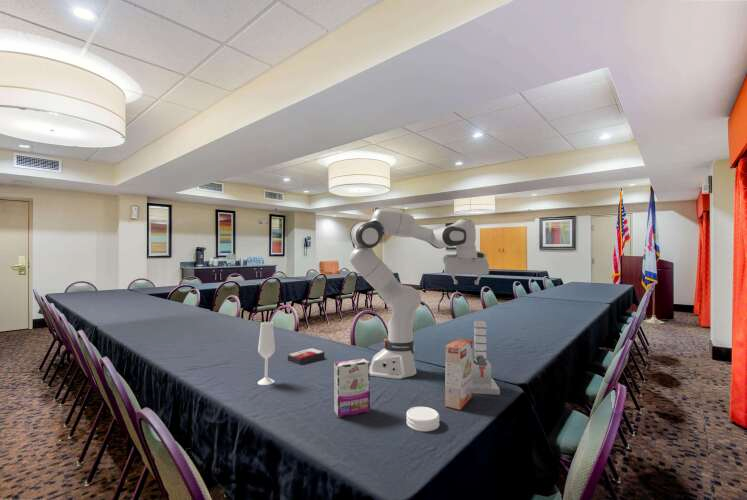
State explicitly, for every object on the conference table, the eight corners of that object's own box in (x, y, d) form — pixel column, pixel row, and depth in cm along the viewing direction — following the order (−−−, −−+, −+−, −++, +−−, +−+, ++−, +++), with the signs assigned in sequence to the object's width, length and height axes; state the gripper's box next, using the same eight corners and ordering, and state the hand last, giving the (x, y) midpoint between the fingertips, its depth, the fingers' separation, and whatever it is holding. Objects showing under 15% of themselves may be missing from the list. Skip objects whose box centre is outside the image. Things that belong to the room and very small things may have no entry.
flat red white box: (287, 353, 171) (311, 346, 182) (287, 362, 171) (311, 355, 182) (299, 358, 164) (324, 350, 175) (300, 367, 164) (324, 359, 175)
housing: (466, 393, 129) (466, 359, 130) (462, 382, 141) (462, 351, 142) (499, 394, 128) (499, 360, 128) (492, 383, 140) (492, 352, 140)
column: (475, 374, 133) (475, 322, 134) (474, 371, 137) (473, 320, 138) (486, 374, 132) (486, 322, 133) (484, 371, 136) (484, 321, 137)
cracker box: (461, 411, 113) (461, 347, 114) (444, 407, 117) (444, 345, 117) (473, 397, 125) (473, 339, 126) (457, 393, 128) (457, 337, 129)
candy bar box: (364, 406, 117) (364, 357, 118) (370, 412, 112) (370, 361, 113) (333, 412, 112) (333, 361, 113) (337, 418, 108) (338, 365, 108)
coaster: (436, 417, 110) (436, 406, 110) (442, 432, 100) (442, 420, 100) (404, 416, 110) (404, 405, 110) (408, 432, 100) (408, 420, 100)
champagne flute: (253, 383, 138) (254, 323, 139) (264, 378, 144) (265, 321, 145) (267, 385, 136) (268, 324, 137) (277, 380, 142) (278, 322, 143)
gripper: (443, 254, 157) (443, 284, 157) (489, 254, 155) (490, 285, 154) (442, 254, 164) (442, 283, 163) (487, 254, 161) (487, 284, 161)
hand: (466, 284), depth 159 cm, fingers open, 8 cm apart
